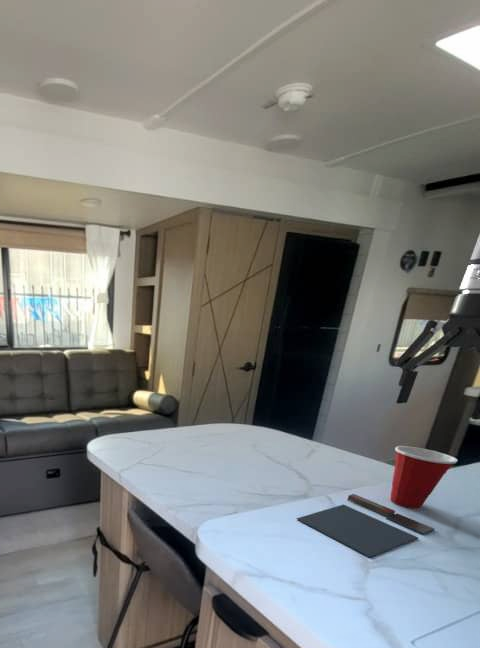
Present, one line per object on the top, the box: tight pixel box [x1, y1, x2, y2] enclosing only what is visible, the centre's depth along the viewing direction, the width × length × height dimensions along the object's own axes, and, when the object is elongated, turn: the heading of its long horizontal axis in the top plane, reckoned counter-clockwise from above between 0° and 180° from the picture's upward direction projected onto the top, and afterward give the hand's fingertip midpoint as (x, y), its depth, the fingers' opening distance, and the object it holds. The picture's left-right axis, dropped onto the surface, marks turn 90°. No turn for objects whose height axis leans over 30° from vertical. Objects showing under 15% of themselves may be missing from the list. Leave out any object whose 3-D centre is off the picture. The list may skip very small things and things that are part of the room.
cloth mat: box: [296, 503, 419, 559], centre depth 79 cm, size 15×15×1 cm
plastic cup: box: [390, 445, 459, 509], centre depth 88 cm, size 11×11×12 cm
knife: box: [347, 493, 435, 536], centre depth 85 cm, size 16×4×1 cm, turn 27°
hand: (436, 410), depth 82 cm, fingers open, 13 cm apart
